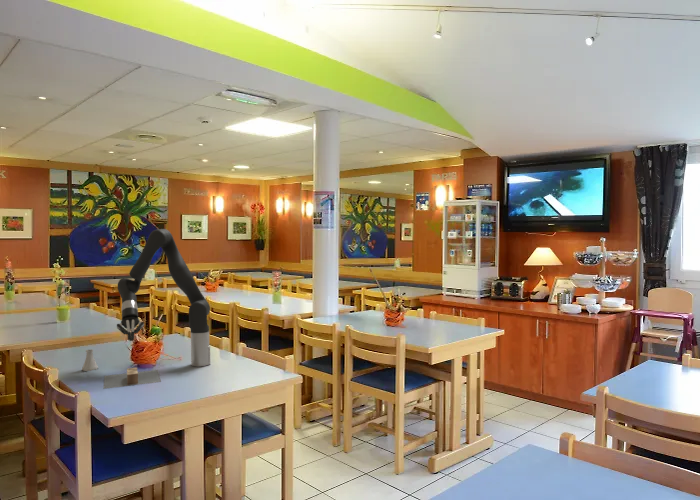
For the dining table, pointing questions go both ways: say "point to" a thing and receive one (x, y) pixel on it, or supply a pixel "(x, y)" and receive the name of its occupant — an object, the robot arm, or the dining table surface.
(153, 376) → the rubber mat
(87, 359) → the flask
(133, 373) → the maple block
